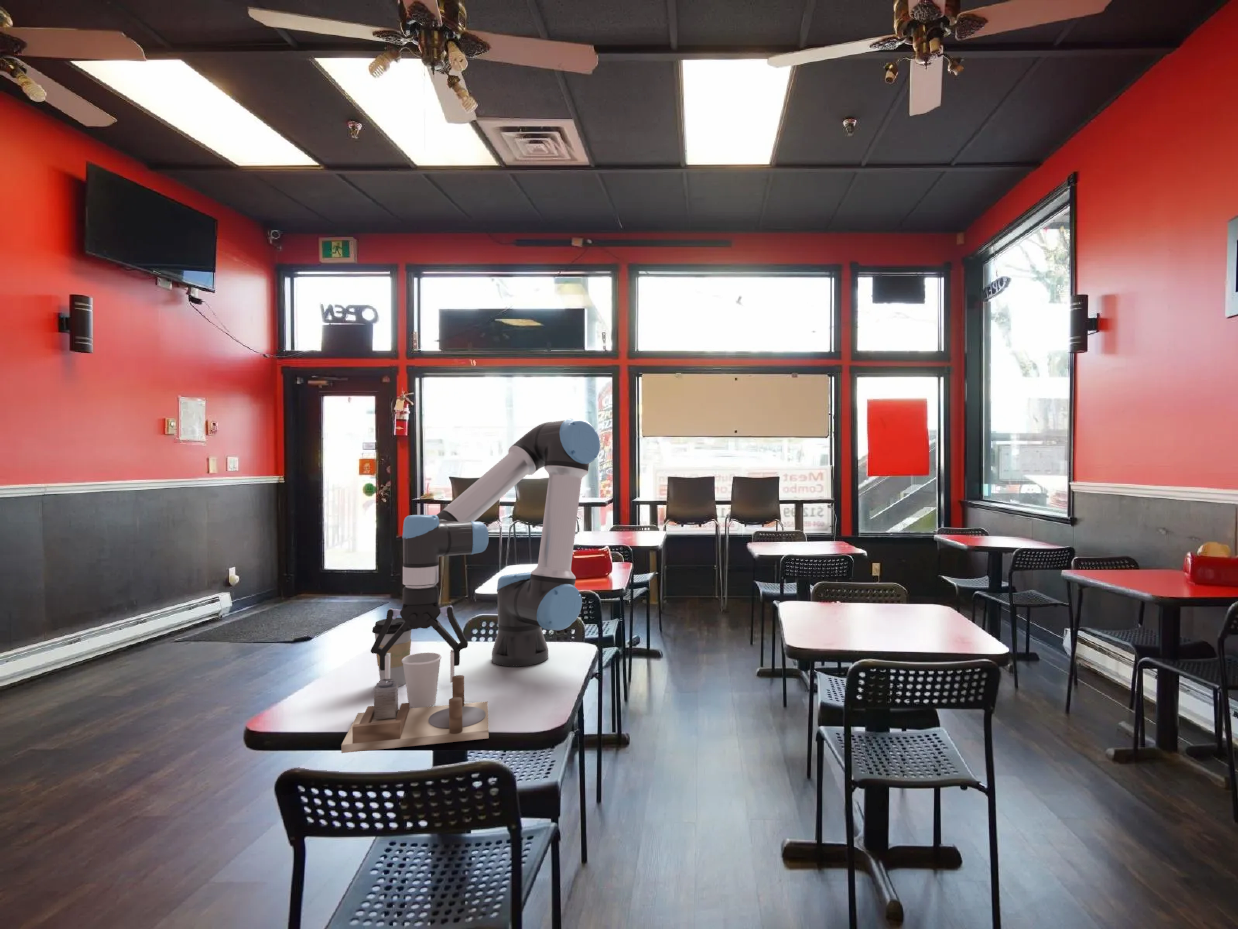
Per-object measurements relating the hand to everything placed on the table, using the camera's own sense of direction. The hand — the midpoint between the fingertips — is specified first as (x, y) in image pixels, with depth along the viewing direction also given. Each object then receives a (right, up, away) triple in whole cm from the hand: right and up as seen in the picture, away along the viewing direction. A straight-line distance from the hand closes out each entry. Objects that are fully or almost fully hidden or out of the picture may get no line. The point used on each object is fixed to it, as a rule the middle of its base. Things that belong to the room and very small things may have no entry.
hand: (420, 683), depth 140 cm
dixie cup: (0, -5, 0) cm, 5 cm away
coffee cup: (-11, -5, +14) cm, 19 cm away
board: (+4, -4, -14) cm, 16 cm away
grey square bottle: (-3, -3, -11) cm, 12 cm away
